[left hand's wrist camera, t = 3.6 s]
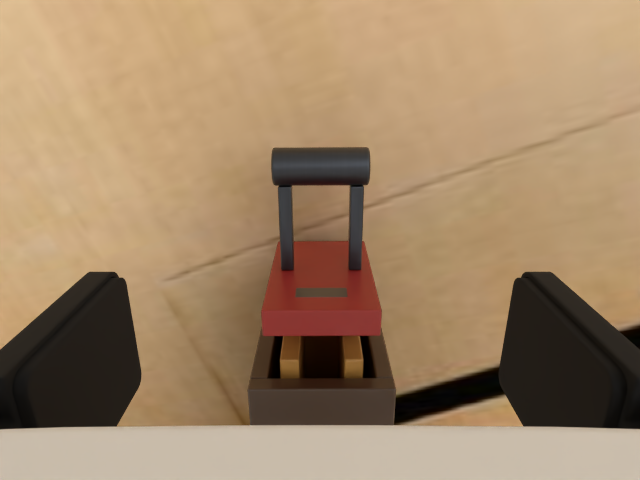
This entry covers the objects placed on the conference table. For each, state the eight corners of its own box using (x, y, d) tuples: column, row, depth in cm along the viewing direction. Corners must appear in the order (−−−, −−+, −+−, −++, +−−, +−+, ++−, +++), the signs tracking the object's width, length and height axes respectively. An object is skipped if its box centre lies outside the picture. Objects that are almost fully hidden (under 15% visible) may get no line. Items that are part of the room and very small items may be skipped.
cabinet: (271, 284, 27) (247, 389, 18) (371, 284, 27) (396, 389, 18) (280, 479, 32) (265, 633, 24) (363, 479, 32) (380, 633, 24)
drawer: (273, 136, 23) (252, 166, 16) (367, 135, 23) (389, 166, 16) (286, 444, 30) (275, 562, 23) (357, 444, 30) (369, 562, 23)
